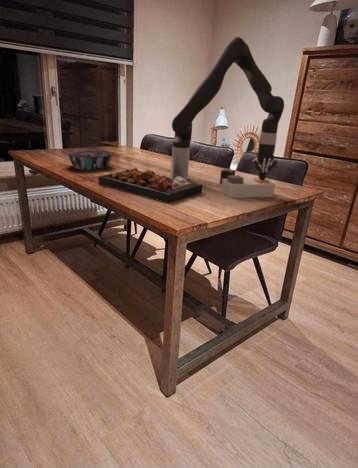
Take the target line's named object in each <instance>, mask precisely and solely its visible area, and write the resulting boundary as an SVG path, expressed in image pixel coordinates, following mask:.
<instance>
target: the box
mask: <svg viewBox="0 0 358 468" xmlns="http://www.w3.org/2000/svg"><path fill="white" fill-rule="evenodd" d="M232 175H236V170H234V169H228V168H224V169H222V170H220V179H219V184H220V185H222V179H227V177H228V176H232Z"/></svg>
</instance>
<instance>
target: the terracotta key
mask: <svg viewBox="0 0 358 468" xmlns="http://www.w3.org/2000/svg"><path fill="white" fill-rule="evenodd" d="M253 179H254V181H255V182H257V183H270V182H271V181H270V180H269V179H266V178H265V179H264V180H260V178H259V177H257V178H253Z"/></svg>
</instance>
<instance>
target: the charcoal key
mask: <svg viewBox="0 0 358 468" xmlns="http://www.w3.org/2000/svg"><path fill="white" fill-rule="evenodd" d="M243 179H244V177H242V176H241V175H236V174H235V175H232V176H228V177H227V181H228V182H230V183H231V184H238V183H243Z"/></svg>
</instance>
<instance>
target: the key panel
mask: <svg viewBox="0 0 358 468" xmlns="http://www.w3.org/2000/svg"><path fill="white" fill-rule="evenodd" d="M275 189H276V184H275V183H274V182H272V181H270V183H257V182H255V181H254V178H243V183H238V184H231V183H230V182H228V181H227V179H222V184H221V189H220V191H221V192H222V193H223V194H224V195H226V196H227V197H229V198H231V199H237V198H241V199H242V198H273V197H274V193H275Z"/></svg>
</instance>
